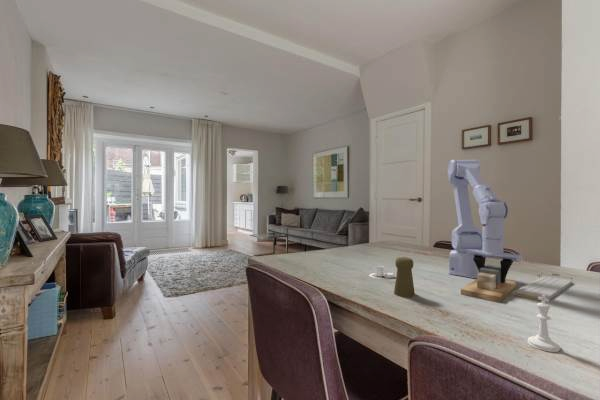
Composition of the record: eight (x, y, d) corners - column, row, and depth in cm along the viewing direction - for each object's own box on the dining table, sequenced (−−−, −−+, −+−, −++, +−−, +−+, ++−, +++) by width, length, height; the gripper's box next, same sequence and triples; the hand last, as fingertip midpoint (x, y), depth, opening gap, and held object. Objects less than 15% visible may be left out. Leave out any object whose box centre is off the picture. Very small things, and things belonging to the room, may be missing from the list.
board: (460, 294, 89) (460, 289, 89) (482, 280, 104) (482, 275, 104) (499, 302, 82) (499, 297, 82) (516, 286, 97) (516, 281, 97)
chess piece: (550, 354, 55) (551, 300, 55) (522, 342, 59) (522, 292, 59) (565, 348, 57) (565, 297, 57) (536, 337, 61) (536, 289, 61)
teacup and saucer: (397, 278, 108) (397, 267, 108) (383, 281, 104) (383, 270, 104) (379, 273, 116) (379, 263, 116) (364, 276, 111) (364, 265, 111)
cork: (389, 292, 91) (389, 256, 91) (404, 289, 94) (404, 255, 94) (403, 298, 86) (403, 260, 86) (419, 295, 88) (419, 258, 88)
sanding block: (479, 284, 94) (479, 268, 94) (487, 279, 100) (487, 264, 100) (498, 287, 90) (498, 271, 90) (505, 282, 96) (505, 266, 96)
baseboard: (505, 294, 91) (546, 304, 83) (505, 285, 91) (546, 294, 83) (536, 278, 109) (572, 284, 101) (536, 270, 109) (572, 276, 101)
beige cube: (477, 287, 90) (477, 274, 90) (481, 285, 93) (481, 272, 93) (492, 290, 88) (492, 277, 88) (495, 287, 90) (495, 274, 90)
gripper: (463, 237, 98) (463, 278, 98) (517, 242, 87) (517, 288, 87) (470, 235, 102) (470, 274, 103) (522, 239, 92) (522, 283, 92)
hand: (492, 280), depth 95 cm, fingers closed on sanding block, 5 cm apart
